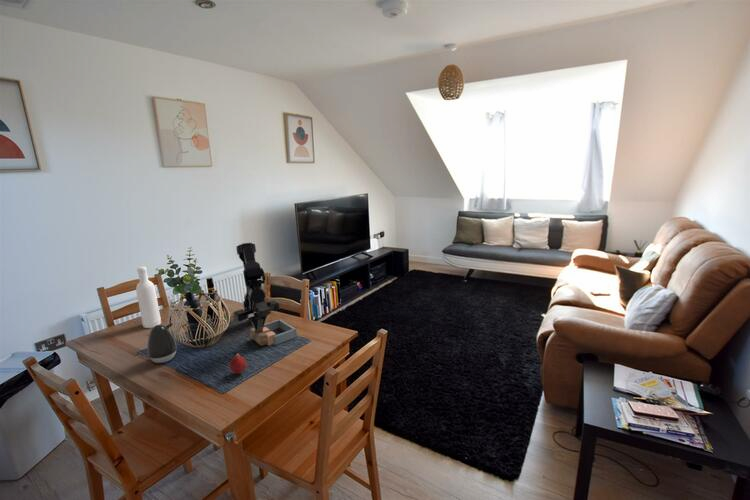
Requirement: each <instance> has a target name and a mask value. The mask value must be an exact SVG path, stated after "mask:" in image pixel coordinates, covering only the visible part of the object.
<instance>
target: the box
mask: <svg viewBox="0 0 750 500" xmlns="http://www.w3.org/2000/svg"><path fill="white" fill-rule="evenodd" d="M264 327H267V328H268V329H270V331H272V332H274V331H276V330H278V329H281V330H282V331H284V332H281V333H278V334H276V335H275V336H274V343H273V344H274V346H277V345H280V344H282V343H285V342H287V341H291V340H293V339H296V338H297V337H298V336H297V335H298V334H297V333H298V332H297V328H295V327H294V326H292V325H290V324H289V323H287V322H285V320H283V319H280V318H278V319H277V320H274V321H273V320H272V321H271V322H268V323H265V324H264Z"/></svg>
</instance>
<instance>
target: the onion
mask: <svg viewBox="0 0 750 500" xmlns="http://www.w3.org/2000/svg"><path fill="white" fill-rule="evenodd" d="M247 365H248V363H247V360H246V359H245V357H243V356H242V355H240V354H239V353H236V355H234V357H233V358H232V359H231V361H230V362H229V368H230V371H231V372H232V373H234V374H241V373H243V372H244V371H245V370H246V369H247Z"/></svg>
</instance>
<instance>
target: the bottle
mask: <svg viewBox="0 0 750 500" xmlns="http://www.w3.org/2000/svg"><path fill="white" fill-rule="evenodd" d="M147 270H148V269H147V266H138V267H137V268H136V271H137V275H138V279H139V282H138V283H137V284H136V287H135V291H136V297H137V301H138V307H139V312H140V317H141V325H142V327H143V328H144V329H145V328H146V329H152V328H153V327H154V326H156V325H162V318H161V313H160V307H159V302H158V298H157V291H156V288H155V287H156V286H155V283H153V282H152V281H151V280H149V275H148V271H147Z"/></svg>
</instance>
